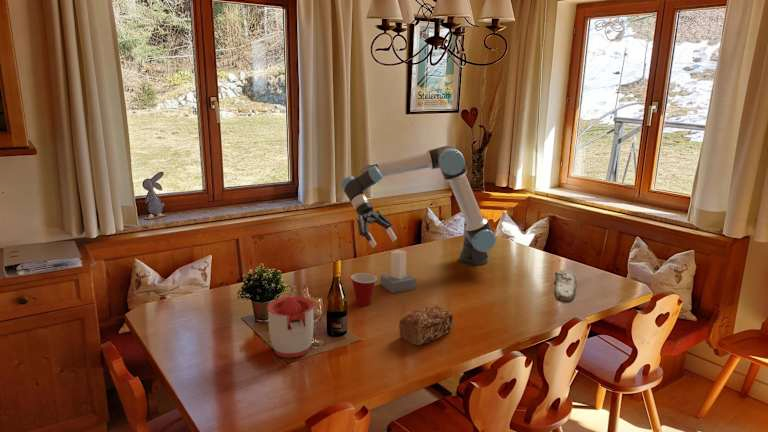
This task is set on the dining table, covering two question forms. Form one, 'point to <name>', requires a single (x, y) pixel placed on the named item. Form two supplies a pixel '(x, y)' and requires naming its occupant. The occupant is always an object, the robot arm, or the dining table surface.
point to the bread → (425, 324)
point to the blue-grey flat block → (398, 283)
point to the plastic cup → (363, 287)
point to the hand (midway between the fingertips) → (385, 243)
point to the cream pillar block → (398, 264)
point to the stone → (565, 285)
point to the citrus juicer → (291, 325)
